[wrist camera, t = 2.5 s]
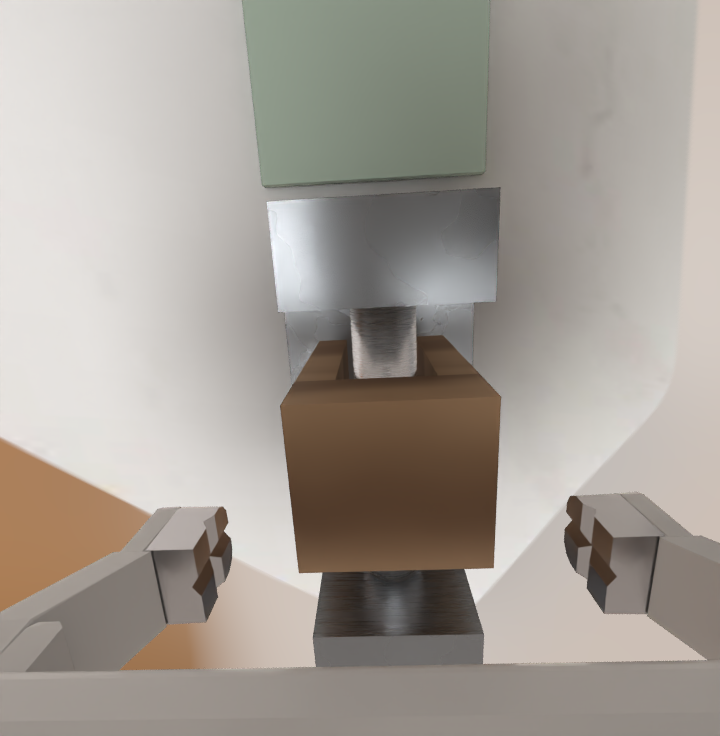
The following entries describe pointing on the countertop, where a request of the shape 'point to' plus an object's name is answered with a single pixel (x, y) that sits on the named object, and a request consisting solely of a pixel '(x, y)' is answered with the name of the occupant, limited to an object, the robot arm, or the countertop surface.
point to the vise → (383, 360)
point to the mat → (368, 89)
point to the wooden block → (392, 463)
